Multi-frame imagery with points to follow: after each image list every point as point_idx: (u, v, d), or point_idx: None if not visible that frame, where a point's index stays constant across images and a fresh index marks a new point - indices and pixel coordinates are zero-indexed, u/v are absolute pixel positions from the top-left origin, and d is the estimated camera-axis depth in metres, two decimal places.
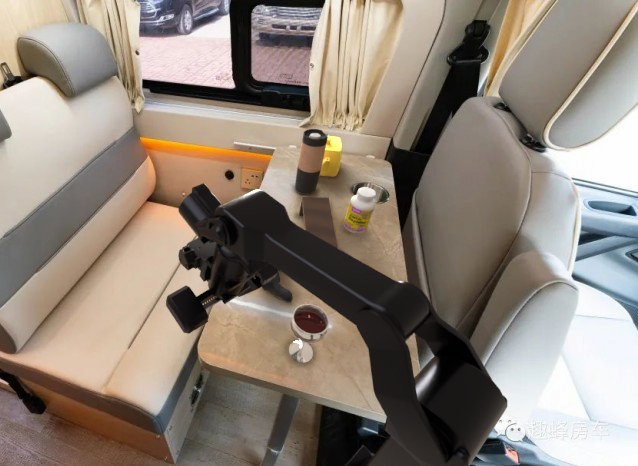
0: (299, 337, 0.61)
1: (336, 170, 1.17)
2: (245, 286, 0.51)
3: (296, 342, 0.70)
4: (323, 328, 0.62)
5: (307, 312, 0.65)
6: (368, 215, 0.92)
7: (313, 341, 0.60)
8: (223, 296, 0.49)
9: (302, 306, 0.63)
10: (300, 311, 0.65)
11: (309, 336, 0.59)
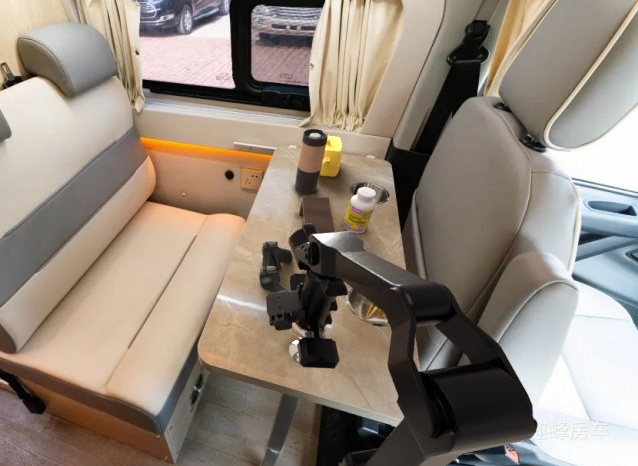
0: (299, 335, 0.61)
1: (336, 170, 1.17)
2: None
3: (296, 342, 0.70)
4: None
5: None
6: (368, 215, 0.92)
7: None
8: (327, 320, 0.57)
9: None
10: None
11: (309, 334, 0.60)
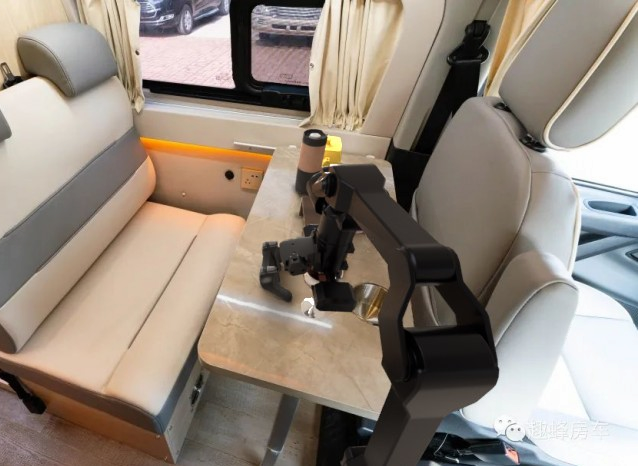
0: None
1: None
2: None
3: (308, 299, 0.69)
4: None
5: None
6: None
7: None
8: (343, 265, 0.55)
9: None
10: None
11: None
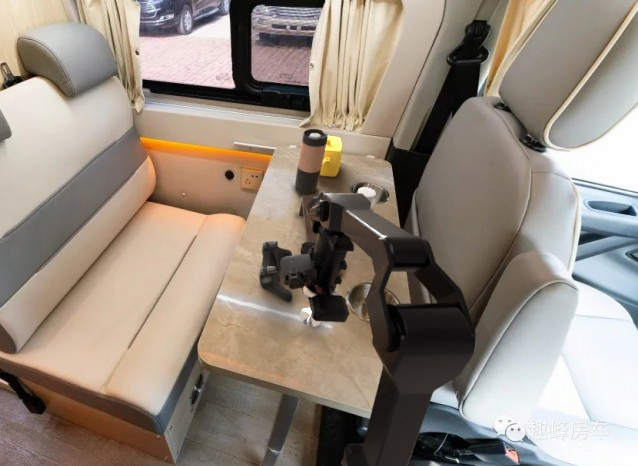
0: None
1: (336, 170, 1.17)
2: None
3: (306, 309, 0.75)
4: None
5: None
6: None
7: None
8: (337, 279, 0.62)
9: None
10: None
11: None
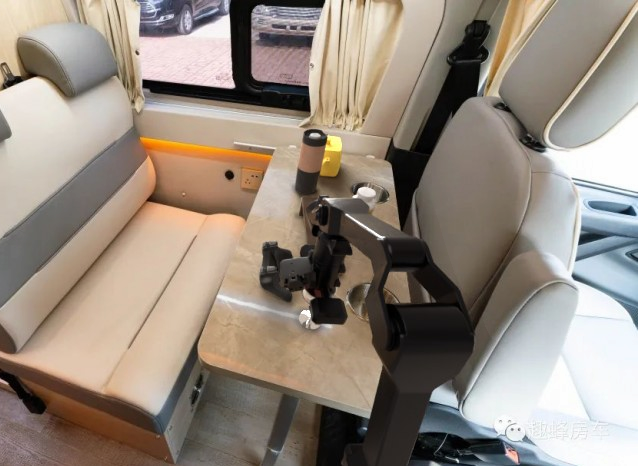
0: (309, 302, 0.66)
1: (336, 170, 1.17)
2: None
3: (305, 311, 0.76)
4: None
5: None
6: None
7: None
8: (336, 282, 0.63)
9: None
10: None
11: None
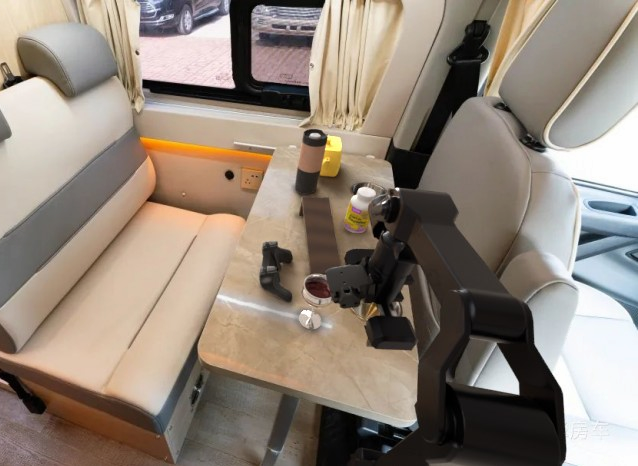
0: (309, 302, 0.66)
1: (336, 170, 1.17)
2: None
3: (305, 311, 0.76)
4: None
5: (317, 282, 0.70)
6: (368, 215, 0.92)
7: (322, 306, 0.66)
8: (398, 296, 0.50)
9: (312, 275, 0.69)
10: (310, 281, 0.70)
11: (319, 301, 0.65)
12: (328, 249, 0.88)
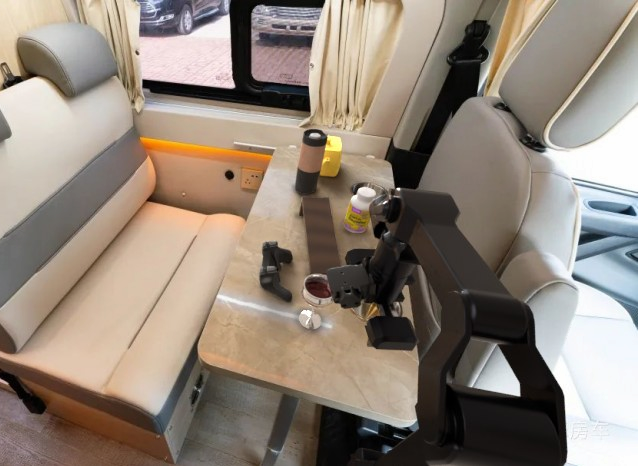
0: (309, 302, 0.66)
1: (336, 170, 1.17)
2: None
3: (305, 311, 0.76)
4: None
5: (317, 282, 0.70)
6: (368, 215, 0.92)
7: (322, 306, 0.66)
8: (399, 296, 0.50)
9: (312, 275, 0.69)
10: (310, 281, 0.70)
11: (319, 301, 0.65)
12: (328, 249, 0.88)
